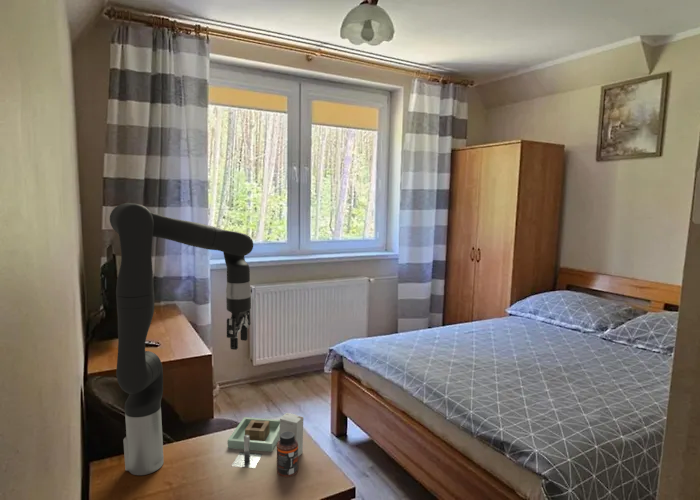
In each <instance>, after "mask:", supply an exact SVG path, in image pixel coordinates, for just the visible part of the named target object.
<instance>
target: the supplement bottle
mask: <svg viewBox="0 0 700 500" xmlns="http://www.w3.org/2000/svg"><path fill="white" fill-rule="evenodd" d="M276 471H277V474H278V475H279V476H280V477H284V478H288V477H289V478H290V477H293V476H295V475H296V474H297V473H298V472H299V457H298V442H297V440H296V439H295V435H294V433H293V432H291V431H286V432H283V433H281V435H280V440H279V439H278V441H277V443H276Z"/></svg>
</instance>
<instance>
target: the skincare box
mask: <svg viewBox="0 0 700 500" xmlns="http://www.w3.org/2000/svg"><path fill="white" fill-rule="evenodd" d="M279 420H280V435H281V433H283V432H286V431H291V432H293V433H294V435H295V439H296V440H297V442H298V458H299V457H300V456H301V455H302V454H303V452H304V451H303V446H304V444H303V443H304V416H301V415H298V414H294V413H290V412H286V413H284V415H282V416H281V417H280V418H279ZM279 440H280V438H279V439H278V441H279Z"/></svg>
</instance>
